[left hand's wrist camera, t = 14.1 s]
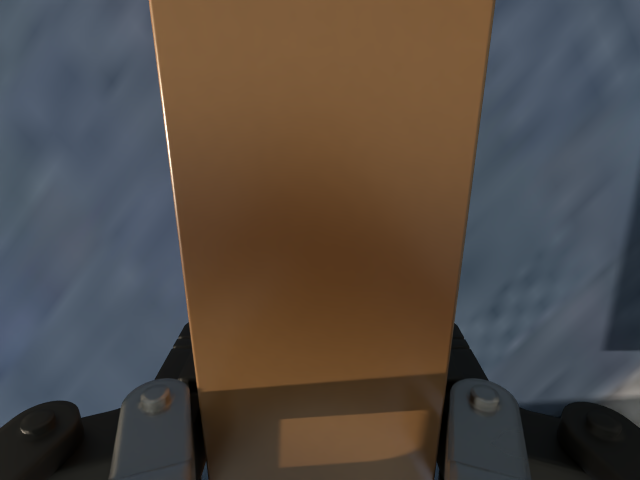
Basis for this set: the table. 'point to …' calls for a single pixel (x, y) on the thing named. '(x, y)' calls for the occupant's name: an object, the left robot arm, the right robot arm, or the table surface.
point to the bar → (321, 223)
